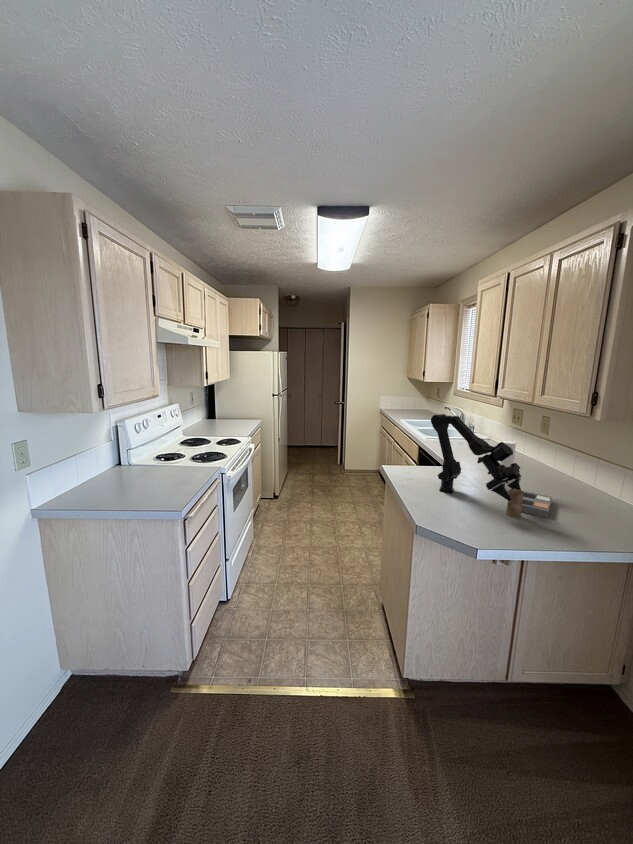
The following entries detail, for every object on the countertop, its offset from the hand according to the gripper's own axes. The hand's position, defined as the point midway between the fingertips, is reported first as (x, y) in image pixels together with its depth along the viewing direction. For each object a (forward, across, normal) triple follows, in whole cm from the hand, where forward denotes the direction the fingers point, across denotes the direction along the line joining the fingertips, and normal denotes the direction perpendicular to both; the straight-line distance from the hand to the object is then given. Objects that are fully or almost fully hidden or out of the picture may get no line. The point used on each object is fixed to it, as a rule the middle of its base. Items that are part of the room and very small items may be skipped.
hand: (516, 498), depth 148 cm
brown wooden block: (+5, 0, +6) cm, 8 cm away
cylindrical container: (-9, +27, +20) cm, 35 cm away
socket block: (+5, +17, +6) cm, 19 cm away
